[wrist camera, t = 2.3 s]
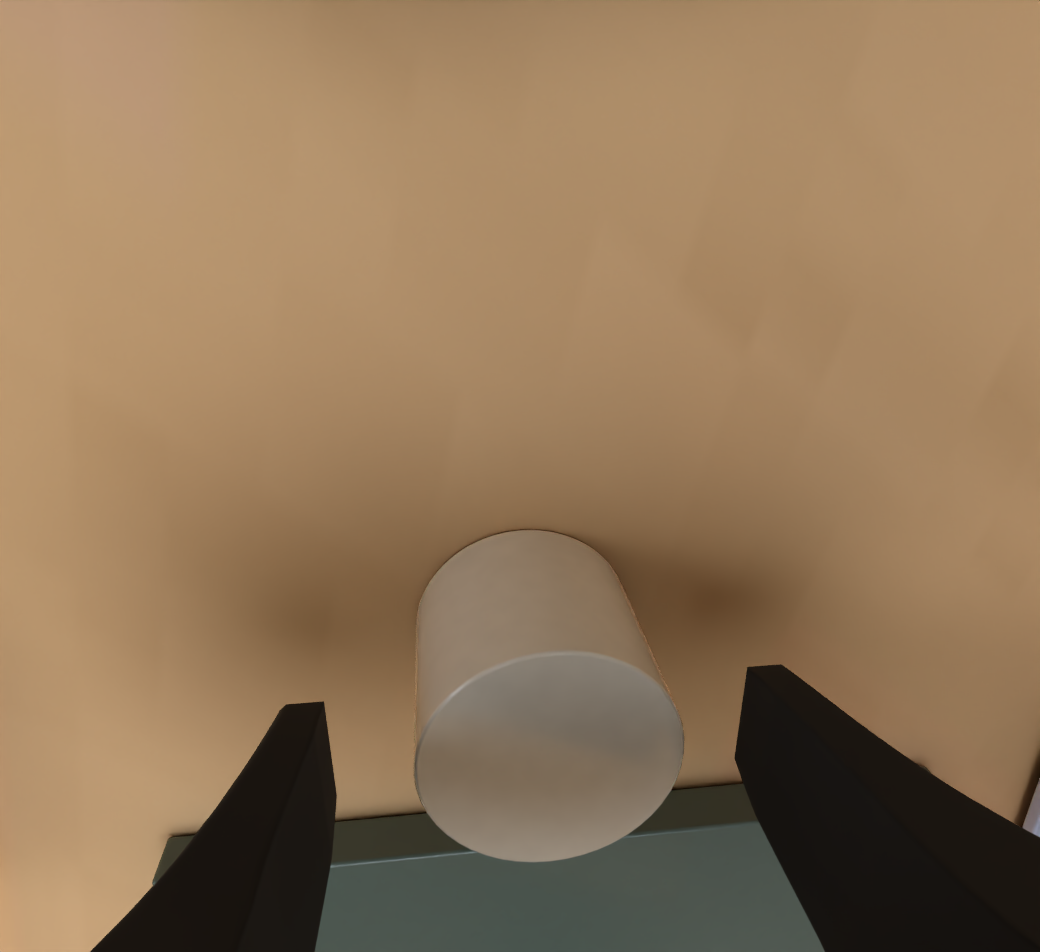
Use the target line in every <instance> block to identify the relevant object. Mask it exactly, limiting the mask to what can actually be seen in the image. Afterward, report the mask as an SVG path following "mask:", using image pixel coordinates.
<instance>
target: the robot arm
mask: <svg viewBox="0 0 1040 952" xmlns="http://www.w3.org/2000/svg"><path fill="white" fill-rule="evenodd" d="M735 761H736V764H737V766H738V769H739V772H740V775H741V778H742V781H743V784H744V787H745V789H746V792H747V795H748V797H749V800H750V802H751V805H752V808H753V810H754V813H755V815H756V817H757V819H758V821H759V823H760V825H761V827H762V829H763V831H764V833H765V835H766V837H767V839H768V841H769V843H770V845H771V847H772V849H773V851H774V853H775V855H776V857H777V859H778V861H779V863H780V865H781V867H782V869H783V871H784V873H785V874H786V876H787V878H788V880H789V882H790V884H791V886H792V888H793V890H794V892H795V894H796V896H797V898H798V900H799V902H800V903H801V905H802V907H803V909H804V911H805V913H806V915H807V917H808V919H809V921H810V923H811V925H812V927H813V929H814V931H815V933H816V934H817V936H818V938H819V940H820V943H821V945H822V947H823V949H824V951H825V952H1040V778H1039V781H1038V784H1037V787H1036V790H1035V793H1034V795H1033V798H1032V801H1031V804H1030V807H1029V810H1028V813H1027V815H1026V818H1025V821H1024V824H1023V827H1020V826H1018V825H1016V824H1014V823H1012V822H1010V821H1009V820H1007V819H1005V818H1003V817H1002V816H1000V815H998V814H997V813H995V812H993V811H991V810H990V809H988V808H986V807H984V806H983V805H981V804H979V803H978V802H976V801H974V800H972V799H971V798H969V797H967V796H966V795H964V794H962V793H961V792H959V791H957V790H956V789H954V788H953V787H951V786H949V785H948V784H946V783H945V782H943V781H942V780H940V779H939V778H937V777H936V776H934V775H933V774H931V773H930V772H928V771H926V770H925V769H923V768H922V767H920V766H919V765H917V764H916V763H914V762H913V761H911V760H910V759H908V758H907V757H906V756H904V755H903V754H901V753H900V752H898V751H897V750H896V749H894V748H893V747H891V746H890V745H888V744H887V743H886V742H884V741H883V740H881V739H880V738H879V737H877V736H876V735H875V734H873V733H872V732H871V731H869V730H868V729H866V728H865V727H864V726H862V725H861V724H860V723H858V722H857V721H856V720H854V719H853V718H852V717H850V716H849V715H848V714H846V713H845V712H844V711H842V710H841V709H840V708H838V707H837V706H836V705H835V704H833V703H832V702H831V701H829V700H828V699H827V698H825V697H824V696H823V695H821V694H820V693H819V692H818V691H816V690H815V689H814V688H812V687H811V686H810V685H808V684H807V683H806V682H804V681H803V680H802V679H801V678H799V677H798V676H797V675H795V674H794V673H792V672H791V671H790V670H788V669H787V668H785V667H784V666H783V665H781V664H780V665H768V666H755V667H747V673H746V680H745V688H744V695H743V702H742V709H741V716H740V723H739V730H738V738H737V745H736V752H735ZM336 797H337V795H336V787H335V780H334V773H333V765H332V758H331V750H330V743H329V736H328V728H327V721H326V713H325V706H324V702H312V703H300V704H287V705H285V706H284V707H283V708H282V709H281V710H280V711H279V713H278V715H277V716H276V718H275V720H274V721H273V723H272V725H271V726H270V728H269V730H268V731H267V733H266V735H265V736H264V738H263V740H262V741H261V743H260V744H259V746H258V747H257V749H256V751H255V752H254V754H253V755H252V757H251V758H250V760H249V761H248V763H247V764H246V766H245V767H244V769H243V770H242V772H241V773H240V775H239V776H238V778H237V779H236V780H235V782H234V783H233V785H232V786H231V787H230V789H229V790H228V792H227V793H226V795H225V796H224V797H223V799H222V800H221V802H220V803H219V805H218V806H217V807H216V809H215V810H214V811H213V813H212V814H211V815H210V817H209V818H208V819H207V821H206V822H205V823H204V824H203V826H202V827H201V828H200V829H199V831H198V832H197V833H196V835H195V836H194V837H193V838H192V840H191V841H190V842H189V844H188V845H187V846H186V847H185V849H184V850H183V851H182V853H181V854H180V855H179V856H178V857H177V859H176V860H175V861H174V862H173V863H172V865H171V866H170V867H169V868H168V869H167V870H166V872H165V873H164V874H163V875H162V876H161V877H160V879H159V880H158V881H157V882H156V883H155V884H154V886H153V887H152V888H151V889H150V890H149V891H148V892H147V893H146V894H145V895H144V897H143V898H142V899H141V900H140V901H139V902H138V903H137V904H136V905H135V906H134V908H133V909H132V910H131V911H130V912H129V913H128V914H127V915H126V916H125V917H124V918H123V919H122V920H121V921H120V922H119V923H118V924H117V925H116V926H115V927H114V928H113V929H112V930H111V931H110V932H109V933H108V934H107V935H106V936H105V937H104V938H103V939H102V940H101V941H100V942H99V943H98V944H97V945H96V946H95V947H94V948H93V949H92V951H91V952H315V948H316V942H317V937H318V932H319V926H320V921H321V916H322V910H323V905H324V899H325V894H326V888H327V883H328V878H329V872H330V866H331V861H332V852H333V840H334V827H335V812H336Z"/></svg>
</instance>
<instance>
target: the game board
mask: <svg viewBox="0 0 1040 952" xmlns="http://www.w3.org/2000/svg"><path fill="white" fill-rule="evenodd" d="M922 768H923V769H925V770H926V771H928V772H929V770H928V769H927V768H926V767H922ZM194 836H195V835H191V836H181V837H171V838H169V839H168V841H167V843H166V846H165V849H164V852H163V854H162V857H161V860H160V862H159V865H158V868H157V871H156V873H155V876H154V879H153V882H152V884H153V886H154V884H155V883H156V882H157V881H158V880H159V879H160V877H161V876H162V875H163V874H164V873H165V872H166V870H167V869H168V868H169V867H170V866H171V865H172V863H173V862H174V861H175V860H176V859H177V857H178V856H179V855H180V854H181V853H182V851H183V850H184V849H185V847H186V846H187V845H188V844H189V842H190V841H191V840H192V838H193V837H194ZM315 952H825V951H824V949H823V947H822V945H821V943H820V940H819V938H818V936H817V934H816V933H815V931H814V929H813V927H812V925H811V923H810V921H809V919H808V917H807V915H806V913H805V911H804V909H803V907H802V905H801V903H800V902H799V900H798V898H797V896H796V894H795V892H794V890H793V888H792V886H791V884H790V882H789V880H788V878H787V876H786V874H785V873H784V871H783V869H782V867H781V865H780V863H779V861H778V859H777V857H776V855H775V853H774V851H773V849H772V847H771V845H770V843H769V841H768V839H767V837H766V835H765V833H764V831H763V829H762V827H761V825H760V823H759V821H758V819H757V817H756V815H755V813H754V810H753V808H752V805H751V802H750V800H749V797H748V795H747V792H746V789H745V787H744V784H733V785H722V786H711V787H701V788H690V789H680V790H671V791H670V793H669V794H668V796H667V797H666V799H665V800H664V802H663V803H662V804H661V805H660V807H659V808H658V809H657V810H656V811H655V812H654V813H653V814H652V816H650V817H649V818H648V819H647V820H646V821H645V822H644V823H643V824H641V825H640V826H639V827H638V828H636V829H635V830H633V831H632V832H631V833H629V834H628V835H626V836H625V837H623V838H621V839H619V840H618V841H616V842H614V843H612V844H610V845H608V846H606V847H603V848H601V849H599V850H596V851H593V852H591V853H588V854H585V855H581V856H577V857H573V858H569V859H564V860H558V861H551V862H515V861H508V860H502V859H498V858H494V857H490V856H486V855H483V854H481V853H478V852H475V851H473V850H471V849H469V848H467V847H465V846H463V845H461V844H459V843H458V842H456V841H455V840H453V839H452V838H450V837H449V836H448V835H446V834H445V833H444V832H443V831H442V830H441V829H440V828H439V827H438V826H437V825H436V824H435V823H434V821H433V820H432V819H431V818H430V816H429V815H428V813H425V814H414V815H404V816H393V817H382V818H372V819H361V820H351V821H340V822H335V827H334V840H333V852H332V861H331V866H330V872H329V878H328V883H327V888H326V894H325V899H324V905H323V910H322V916H321V921H320V926H319V932H318V937H317V942H316V948H315Z"/></svg>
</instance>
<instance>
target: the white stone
mask: <svg viewBox="0 0 1040 952" xmlns="http://www.w3.org/2000/svg"><path fill="white" fill-rule="evenodd" d="M683 754H684V731H683V725H682V721H681V718H680V715H679V712H678V709H677V707H676V705H675V703H674V700H673V698H672V696H671V694H670V691H669V689H668V687H667V685H666V682H665V680H664V678H663V676H662V673H661V671H660V669H659V667H658V664H657V662H656V660H655V658H654V655H653V653H652V651H651V649H650V646H649V644H648V642H647V640H646V637H645V635H644V633H643V631H642V628H641V626H640V624H639V622H638V619H637V617H636V615H635V613H634V610H633V608H632V606H631V604H630V601H629V599H628V597H627V595H626V592H625V590H624V588H623V586H622V583H621V581H620V579H619V578H618V576H617V574H616V572H615V571H614V569H613V568H612V567H611V565H610V564H609V563H608V562H607V561H606V560H605V559H604V558H603V557H602V556H601V555H600V554H599V553H598V552H596V551H595V550H594V549H592V548H591V547H589V546H588V545H586V544H584V543H582V542H580V541H578V540H576V539H573V538H571V537H568V536H566V535H562V534H558V533H554V532H549V531H541V530H518V531H510V532H505V533H500V534H496V535H493V536H490V537H487V538H484V539H482V540H479V541H477V542H475V543H473V544H471V545H469V546H467V547H466V548H464V549H463V550H461V551H460V552H458V553H457V554H455V555H454V556H453V557H452V558H451V559H449V560H448V561H447V562H446V563H445V564H444V565H443V566H442V567H441V568H440V569H439V570H438V571H437V573H436V574H435V575H434V576H433V578H432V579H431V581H430V582H429V584H428V585H427V587H426V589H425V591H424V593H423V595H422V598H421V601H420V604H419V607H418V612H417V618H416V658H415V718H414V779H415V785H416V790H417V792H418V795H419V798H420V801H421V803H422V805H423V806H424V808H425V810H426V812H427V813H428V815H429V816H430V818H431V819H432V820H433V821H434V823H435V824H436V825H437V826H438V827H439V828H440V829H441V830H442V831H443V832H444V833H445V834H446V835H448V836H449V837H450V838H452V839H453V840H455V841H456V842H458V843H459V844H461V845H463V846H465V847H467V848H469V849H471V850H473V851H475V852H478V853H481V854H483V855H486V856H490V857H494V858H498V859H502V860H508V861H515V862H551V861H558V860H564V859H569V858H573V857H577V856H581V855H585V854H588V853H591V852H593V851H596V850H599V849H601V848H603V847H606V846H608V845H610V844H612V843H614V842H616V841H618V840H619V839H621V838H623V837H625V836H626V835H628V834H629V833H631V832H632V831H633V830H635V829H636V828H638V827H639V826H640V825H641V824H643V823H644V822H645V821H646V820H647V819H648V818H649V817H650V816H652V814H653V813H654V812H655V811H656V810H657V809H658V808H659V807H660V805H661V804H662V803H663V802H664V800H665V799H666V797H667V796H668V794H669V793H670V791H671V789H672V787H673V785H674V783H675V782H676V780H677V777H678V774H679V771H680V768H681V765H682V759H683Z"/></svg>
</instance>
